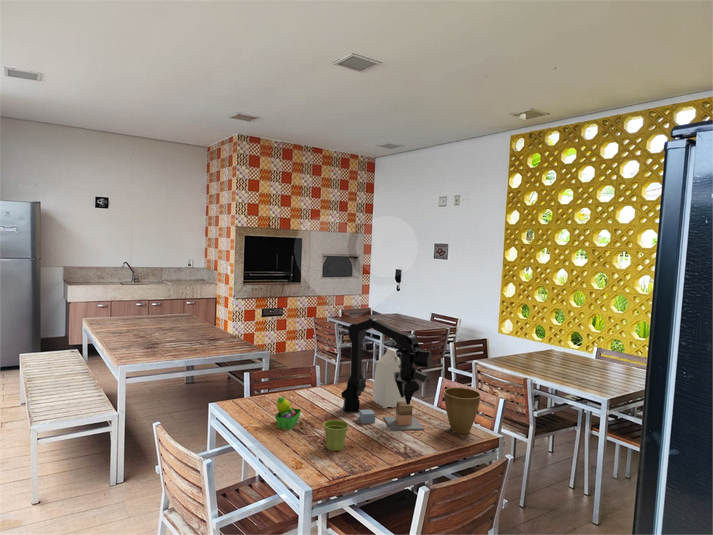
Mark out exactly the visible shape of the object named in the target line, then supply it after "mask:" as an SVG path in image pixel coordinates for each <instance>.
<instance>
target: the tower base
mask: <svg viewBox="0 0 713 535" xmlns="http://www.w3.org/2000/svg"><path fill="white" fill-rule="evenodd" d="M383 419H384V421H385V422H387V423H386V424H387V426H388V427H390V428H389V429H390V431H425V427H424V426H423V425H422V424H421V422H420V421H419V420H418V419H417V417H416V416H413V414H412V415H399V414H398V413H397V411H396V410H395V416H383Z"/></svg>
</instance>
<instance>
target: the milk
mask: <svg viewBox="0 0 713 535" xmlns="http://www.w3.org/2000/svg"><path fill="white" fill-rule="evenodd" d="M396 351H397V350H395V349H394V348H391V347H388V348H387V349H386V352H385V353H384V354H383V356H381V358H379V359H378V360H377V361H376V364H375V372H374V381H373V391H372V402H374V401H375V402H374V403H376V404H377V403H378V404H379V406H380V405H381V406H382V407H381V406H380V407H381V408H383V409H388V408H387V407H392V408H396V404H397V402H406V400H405V397H403V398H401V396H400V393H399V390H398V387H397V384H396V382H395V379H394V373H395V372H400V368H399V365H400V361H401V358H400V357H399V356H398V355H397V354H398V353H397V352H396ZM378 404H377V405H378Z"/></svg>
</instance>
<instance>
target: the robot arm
mask: <svg viewBox="0 0 713 535" xmlns="http://www.w3.org/2000/svg"><path fill="white" fill-rule="evenodd" d="M371 329H372V330H375V331H377V333H380V334H382V335H384V336H386V337H388V338H390V339H392V340H393V341H395V343H396V345H398V346H399V348H398V349H397V350H396V353H397V354H398V353H399V354H400V365H399V368H400V372H395V373H394V379H395V382H396V384H397V387H398V390H399V393H400V396H401V398H403V397H405V400H406V404H407V405H409V404H410V403H411V401H412V399H413V396H414V393H417V392H418V391H419V390H420V385H419V383H418V382H417V381H420V382H422V383H423V384H424V383H426V379H427V377H428V376H427V374H426V373H425V372H423V371H422V369H421V368H426V369H431V368H432V365H433V360H434V359H433V355H432V351H429V350H422V348H421V346H420V344H419V342H418V338H417V336H416V335H415V334H413V333H411V332H410V333H409V332H407V331H401V330H398V329H397V328H394V327H393V326H390V325H388V324H387V323H385V322H382V320H379V319H378V318H377V317H372V318H368V319H367V320H364V321H360V322H354V323H351V324H349V326H348V328H347V332H348V333H347V334H348V338H349V341H350V342H351V351H350V352H351V353H350V376H349V377H348V380H347V384H346V388H345V389H344V390H343V391H342V392H341V393H340V394H341V398H342V399H343V406H342V410H343V411H344V413H359V410H360V405H361V404H360V402H361V400H360V398H359V397H360V396H362V393H364V392H365V389H366V388H367V386H366V385H367V384H366V382H367V379H366V378H365V377H363V375H362V368H363V367H362V365H363V363H362V362H363V342H364V340H365V338H366V335H367V334H366V333H367V331H369V330H371ZM415 366H416V367H417V368H416V367H415Z"/></svg>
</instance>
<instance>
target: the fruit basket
mask: <svg viewBox="0 0 713 535" xmlns="http://www.w3.org/2000/svg"><path fill="white" fill-rule="evenodd" d="M291 406H292V405H291V403H290V401H288V399H286V398H285V397H283V396H279V397H278V398H277V400H276V410H277V411H278V413H276V415H275V416H274V418H275V420H276V426H277V429H283V430H291V429H292V428H293V427H295V425H296V424H297V423H298V421H299V418H300V414H301V413H302V409H301V408H293V407H291Z"/></svg>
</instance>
